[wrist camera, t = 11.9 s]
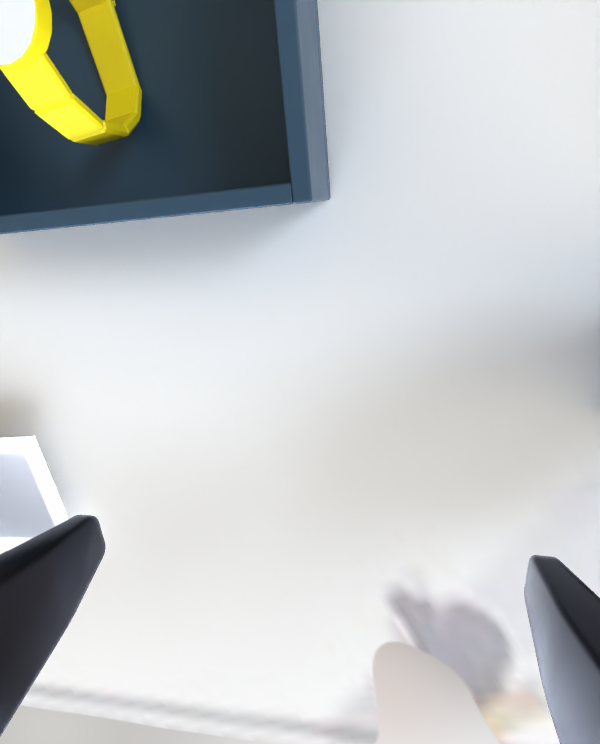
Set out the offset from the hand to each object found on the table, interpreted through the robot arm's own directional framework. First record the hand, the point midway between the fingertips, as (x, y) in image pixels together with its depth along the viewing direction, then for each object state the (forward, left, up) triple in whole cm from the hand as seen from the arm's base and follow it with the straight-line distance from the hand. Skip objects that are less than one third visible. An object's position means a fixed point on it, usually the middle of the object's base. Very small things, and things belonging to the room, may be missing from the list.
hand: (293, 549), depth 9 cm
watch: (+8, -12, -11) cm, 18 cm away
